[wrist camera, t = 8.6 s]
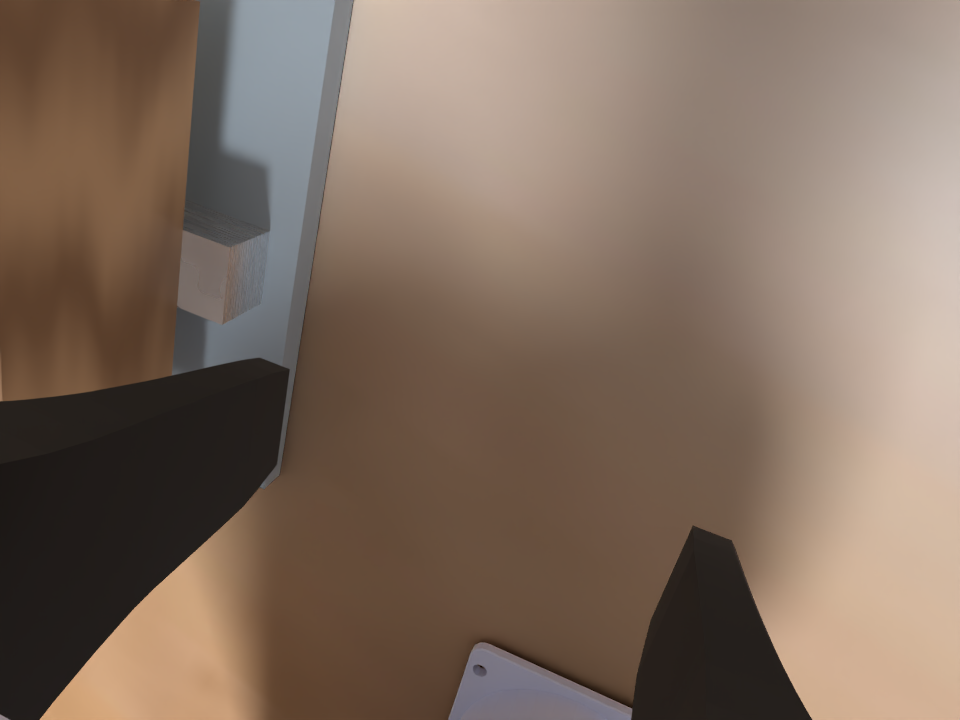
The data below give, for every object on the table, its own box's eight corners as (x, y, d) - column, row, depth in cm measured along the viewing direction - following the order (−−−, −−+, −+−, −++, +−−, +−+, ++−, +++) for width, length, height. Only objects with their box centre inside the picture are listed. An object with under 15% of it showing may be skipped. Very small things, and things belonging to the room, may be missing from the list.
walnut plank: (165, 463, 25) (8, 577, 20) (63, 418, 26) (-113, 516, 21) (200, 2, 19) (-14, -8, 14) (64, -42, 20) (-187, -66, 15)
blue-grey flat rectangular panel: (279, 474, 28) (264, 489, 27) (71, 384, 30) (50, 395, 29) (354, -6, 21) (336, -7, 20) (74, -89, 23) (46, -94, 22)
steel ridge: (261, 303, 24) (222, 325, 23) (74, 231, 26) (23, 245, 24) (270, 230, 23) (229, 247, 22) (74, 158, 25) (22, 169, 23)
